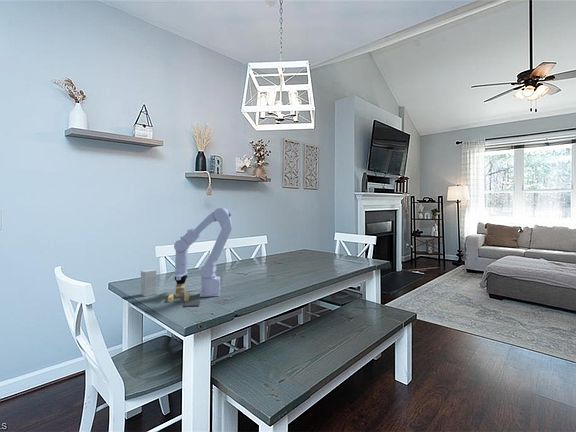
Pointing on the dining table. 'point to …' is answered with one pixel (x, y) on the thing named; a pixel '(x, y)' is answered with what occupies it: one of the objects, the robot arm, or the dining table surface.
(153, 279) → the skincare box
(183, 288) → the plug block
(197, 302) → the rubber mat
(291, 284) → the dining table surface
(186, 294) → the pair of wooden bars
